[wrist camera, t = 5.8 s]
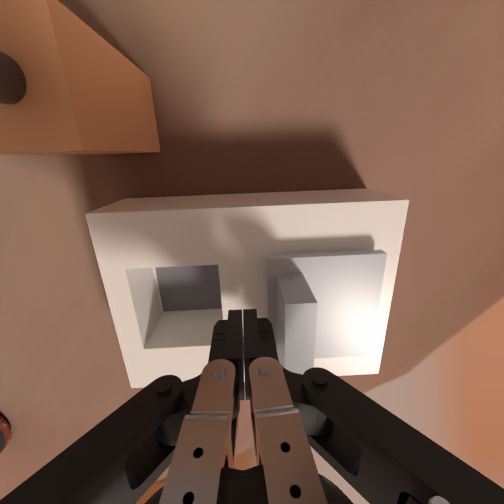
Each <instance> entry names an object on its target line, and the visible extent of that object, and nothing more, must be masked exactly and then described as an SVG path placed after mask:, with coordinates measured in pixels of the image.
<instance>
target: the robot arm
mask: <svg viewBox="0 0 504 504" xmlns="http://www.w3.org/2000/svg"><path fill="white" fill-rule="evenodd" d="M243 339H244V341H243ZM244 372H245V391H246V400H250V406H251V422H252V430H253V439H254V447H255V456H256V464H257V466H255V467H253V468H250V469H247V470H237V469H235V456H236V444H237V432H238V421H239V415H238V414H239V410H240V400H244ZM310 446H311V447H312V448H313V449H314V450H315V451H316V452H317V453H318V454H319V455H320V456H322V458H324V459H325V460H326V461H327V462H328V463H329V464H330V465H331V466H332V467H333V468H334V469H335V470H336V471H337V472H338V473H339V474H340V475H341V476H342V477H343V478H344V479H345V480H346V481H347V482H348V483H349V484H350V485H351V486H352V487H353V488H354V489H355V490H356V491H357V492H358V493H359V494H360V495H362V497H364V498H365V499H366V500H367V501H368V502H369V503H370V504H504V489H503V488H502V487H500V486H499V485H497V484H496V483H494V482H493V481H491V480H490V479H488V478H487V477H485V476H484V475H482V474H481V473H480V472H478V471H477V470H475V469H474V468H472V467H470V466H469V465H468V464H466V463H465V462H463V461H462V460H460V459H459V458H457V457H456V456H454V455H453V454H451V453H450V452H448V451H447V450H445V449H444V448H442V447H441V446H439V445H438V444H437V443H435V442H434V441H432V440H431V439H429V438H428V437H426V436H425V435H423V434H422V433H420V432H419V431H417V430H416V429H414V428H413V427H411V426H410V425H408V424H407V423H406V422H404V421H403V420H401V419H400V418H398V417H397V416H395V415H394V414H392V413H391V412H389V411H388V410H386V409H385V408H383V407H382V406H380V405H379V404H377V403H376V402H374V401H373V400H372V399H370V398H369V397H367V396H366V395H364V394H363V393H361V392H360V391H358V390H357V389H355V388H354V387H352V386H351V385H349V384H348V383H346V382H345V381H343V380H342V379H340V378H339V377H338V376H336V375H335V374H333V373H332V372H330V371H328V370H326V369H324V368H319V367H314V368H310V369H308V370H306V371H305V372H304V374H303V375H302V374H298V373H294V372H291V371H288V370H287V369H285V368H284V367H283V366H282V365H281V364H280V362H279V359H278V354H277V349H276V343H275V338H274V332H273V327H272V323H271V322H270V321H269V320H268V318H257V309H243V319H242V309H240V310H228V320H218V322H217V323H216V324H215V325H214V328H213V335H212V341H211V347H210V353H209V360H208V364H207V365H206V366H205V367H204V368H203V370H202V373H201V374H200V375H198V376H197V377H195V378H192V379H189V380H186V381H183V382H182V381H181V379H180V378H179V377H177V376H175V375H164V376H161V377H159V378H157V379H155V380H154V381H152V382H151V383H150V384H149V385H147V386H146V387H145V388H144V389H142V390H141V391H140V392H138V393H137V394H136V395H135V396H133V397H132V398H131V399H129V400H128V401H127V402H126V403H124V404H123V405H122V406H120V407H119V408H118V409H117V410H115V411H114V412H113V413H111V414H110V415H109V416H108V417H106V418H105V419H104V420H103V421H101V422H100V423H99V424H97V425H96V426H95V427H94V428H92V429H91V430H90V431H88V432H87V433H86V434H85V435H83V436H82V437H81V438H79V439H78V440H77V441H76V442H74V443H73V444H72V445H70V446H69V447H68V448H67V449H65V450H64V451H63V452H62V453H60V454H59V455H58V456H56V457H55V458H54V459H53V460H51V461H50V462H49V463H47V464H46V465H45V466H44V467H42V468H41V469H40V470H38V471H37V472H36V473H35V474H33V475H32V476H31V477H29V478H28V479H27V480H26V481H24V482H23V483H22V484H21V485H19V486H18V487H17V488H15V489H14V490H13V491H12V492H10V493H9V494H8V495H6V496H5V497H4V498H3V499H1V500H0V504H135V503H136V502H137V501H138V500H139V499H140V497H141V496H142V495H143V494H144V493H145V492H146V491H147V490H148V489H149V487H150V486H151V485H152V484H153V483H154V482H155V481H156V480H157V479H158V477H159V476H160V475H161V474H162V473H163V472H164V471H165V470H166V468H167V467H168V466H169V465H170V467H169V471H168V474H167V478H166V481H165V484H164V486H163V487H162V488H161V489H159V490H158V491H157V492H156V493H155V494H154V495H153V496H152V497H151V498H150V499H148V500H147V502H146V503H145V504H353V503H352V502H351V500H350V499H349V498H348V497H347V496H346V495H345V494H344V493H343V492H342V491H341V490H340V489H339V488H338V487H337V486H336V485H335V484H333V483H332V482H331V481H330V480H328V479H327V478H325V477H324V476H322V475H320V474H318V471H317V467H316V465H315V461H314V458H313V455H312V452H311V448H310Z"/></svg>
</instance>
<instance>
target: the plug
mask: <svg viewBox="0 0 504 504" xmlns="http://www.w3.org/2000/svg"><path fill="white" fill-rule="evenodd" d="M151 152H161V150H160V144H159V137H158V130H157V124H156V117H155V110H154V103H153V97H152V90H151V83H150V77H148V76H147V75H146V74H145V73H144V72H142V71H141V70H140V69H139V68H138V67H137V66H135V65H134V64H133V63H132V62H131V61H129V60H128V59H127V58H126V57H125V56H123V55H122V54H121V53H120V52H119V51H118V50H116V49H115V48H114V47H113V46H112V45H110V44H109V43H108V42H107V41H106V40H104V39H103V38H102V37H101V36H100V35H98V34H97V33H96V32H95V31H94V30H93V29H91V28H90V27H89V26H88V25H87V24H85V23H84V22H83V21H82V20H81V19H79V18H78V17H77V16H76V15H75V14H74V13H72V12H71V11H70V10H69V9H68V8H66V7H65V6H64V5H63V4H62V3H60V2H59V1H58V0H0V154H124V153H151Z"/></svg>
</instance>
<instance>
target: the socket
mask: <svg viewBox="0 0 504 504" xmlns="http://www.w3.org/2000/svg"><path fill="white" fill-rule="evenodd" d="M408 204H409V200H408V199H404V198H401V197H397V196H393V195H390V194H386V193H382V192H378V191H375V190H371V189H367V188H362V189H338V190H314V191H290V192H266V193H242V194H218V195H194V196H169V197H145V198H125V199H122V200H120V201H117V202H114V203H112V204H109V205H107V206H104V207H101V208H99V209H96V210H93V211H91V212H88V213H86V214H85V216H86V220H87V224H88V227H89V231H90V235H91V239H92V242H93V246H94V250H95V254H96V257H97V261H98V265H99V269H100V272H101V276H102V280H103V284H104V287H105V291H106V295H107V299H108V302H109V306H110V310H111V314H112V317H113V321H114V325H115V329H116V332H117V336H118V340H119V344H120V347H121V351H122V355H123V359H124V362H125V366H126V370H127V374H128V377H129V381H130V385H131V388H142V387H146V386H147V385H149V384H150V383H151V382H152V381H154V380H155V379H157V378H159V377H161V376H164V375H175V376H177V377H179V378H180V379H181V381H182V382H183V381H186V380H189V379H192V378H195V377H197V376H198V375H200V374H201V373H202V370H203V368H204V367H205V366H206V365H207V364H208V360H209V353H210V347H211V341H212V335H213V328H214V325H215V324H216V323H217V322H218V320H228V310H240V309H242V319H243V309H257V318H267V297H266V255H276V254H297V253H318V252H339V251H360V250H381V249H382V250H383V251H384V252H386V253H387V258H386V264H385V271H384V277H383V283H382V289H381V296H380V302H379V308H378V315H377V321H376V327H375V333H374V340H373V346H372V352H371V355H368V356H350V357H333V358H315V359H314V367H319V368H324V369H326V370H328V371H330V372H332V373H333V374H335V375H336V376H345V375H361V374H378V373H379V367H380V362H381V356H382V350H383V345H384V339H385V333H386V328H387V322H388V317H389V311H390V305H391V300H392V294H393V288H394V283H395V277H396V272H397V266H398V260H399V255H400V249H401V243H402V238H403V232H404V227H405V221H406V215H407V210H408ZM243 341H244V339H243ZM244 381H245V372H244Z"/></svg>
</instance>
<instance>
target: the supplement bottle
mask: <svg viewBox="0 0 504 504" xmlns="http://www.w3.org/2000/svg"><path fill="white" fill-rule="evenodd" d="M10 439H11V429H10V426H9V425H8V423H7V422H6V421H5V420H4V419H3V418H2V417H1V416H0V453H1V452H2V450H3V449H4V448H5V447H6V446H7V444H8V443H9V441H10Z"/></svg>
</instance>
